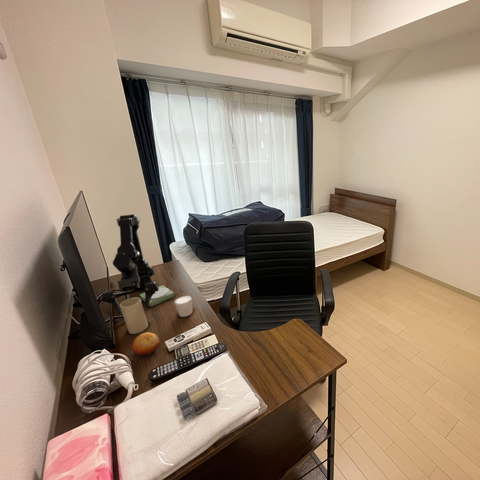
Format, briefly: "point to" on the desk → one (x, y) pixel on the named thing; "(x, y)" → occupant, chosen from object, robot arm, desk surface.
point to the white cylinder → (184, 306)
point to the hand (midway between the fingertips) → (133, 311)
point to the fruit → (145, 343)
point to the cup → (134, 315)
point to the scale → (159, 296)
